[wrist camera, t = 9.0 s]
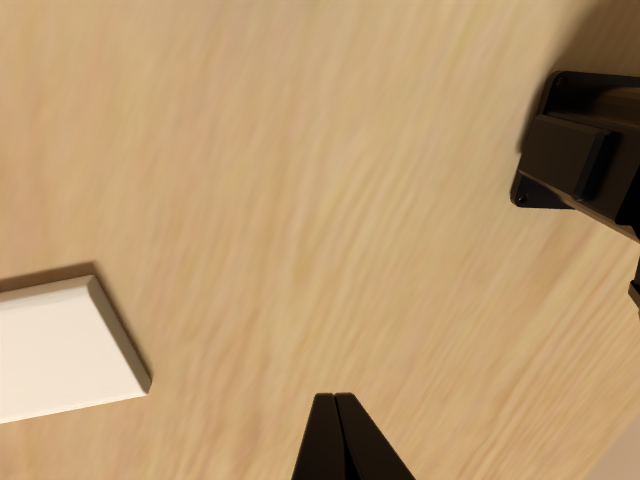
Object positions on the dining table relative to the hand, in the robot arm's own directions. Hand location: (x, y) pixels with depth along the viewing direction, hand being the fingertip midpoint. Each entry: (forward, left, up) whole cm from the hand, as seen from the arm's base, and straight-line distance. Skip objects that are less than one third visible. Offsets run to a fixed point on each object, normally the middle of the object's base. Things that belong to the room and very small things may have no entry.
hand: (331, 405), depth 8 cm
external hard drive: (+16, +10, -13) cm, 22 cm away
